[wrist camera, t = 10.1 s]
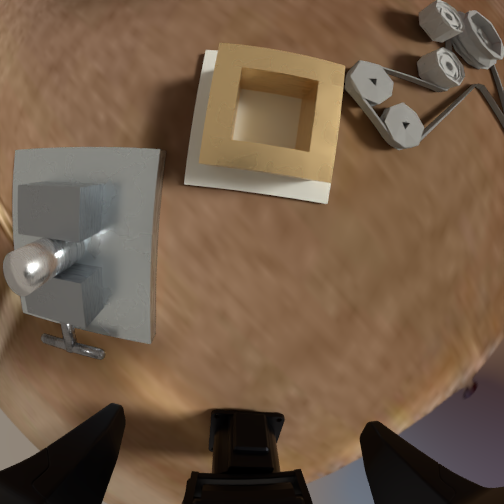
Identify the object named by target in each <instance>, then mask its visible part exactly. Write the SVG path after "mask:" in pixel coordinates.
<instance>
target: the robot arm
mask: <svg viewBox="0 0 504 504" xmlns="http://www.w3.org/2000/svg"><path fill="white" fill-rule="evenodd" d="M279 418H280V419H279ZM284 420H285V419H284V415H283V414H273V413H250V412H236V411H224V410H214V411H212V414H211V426H210V438H209V450H210V451H211V452H213V462H212V473H199V472H195V471H192V473H191V478H189V479H188V480H187V485H186V492H185V496H184V499H183V502H182V504H313V503H312V500H311V497H310V494H309V491H308V488H307V486H306V483H305V480H304V477H303V474H302V471H301V469H296V470H294V471H285V472H280V466H279V459H278V452H277V445H276V443H277V441H278V438H279V435H280V432H281V429H282V426H283V423H284ZM124 428H125V415H124V410H123V407H122V405H119V404H115V403H111V404H109V405H108V406H106V407H105V408H103V409H102V410H101V411H99V412H98V413H96V414H95V415H93V416H92V417H90V418H89V419H88V420H86V421H85V422H83V423H82V424H80V425H79V426H77V427H76V428H74V429H73V430H72V431H70V432H69V433H67V434H66V435H64V436H63V437H61V438H60V439H58V440H57V441H55V442H54V443H52V444H51V445H49V446H48V447H47V448H44V449H43V450H41V451H40V452H38V453H36V454H35V455H33V456H31V457H30V458H28V459H26V460H24V461H22V462H20V463H18V464H16V465H13V466H11V467H9V468H6V469H4V470H1V471H0V504H102V501H103V498H104V495H105V492H106V489H107V487H108V484H109V481H110V478H111V475H112V473H113V470H114V467H115V464H116V461H117V458H118V454H119V450H120V445H121V441H122V437H123V432H124ZM360 444H361V450H362V456H363V461H364V467H365V472H366V475H367V479H368V482H369V486H370V489H371V493H372V496H373V500H374V503H375V504H504V487H498V488H486V487H482V486H480V485H478V484H476V483H474V482H471V481H469V480H467V479H465V478H463V477H461V476H459V475H457V474H455V473H454V472H452V471H450V470H449V469H447V468H445V467H444V466H442V465H441V464H438V462H436V461H435V460H433V459H431V458H430V457H428V456H427V455H426V454H424V453H423V452H421V451H420V450H418V449H417V448H415V447H414V446H413V445H411V444H410V443H408V442H407V441H405V440H404V439H403V438H401V437H400V436H398V435H397V434H395V433H394V432H393V431H391V430H390V429H389V428H387V427H386V426H384V425H383V424H382V423H380V422H379V421H371V422H368V423H367V424H366V426H365V428H364V430H363V431H362V433H361V435H360Z"/></svg>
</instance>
